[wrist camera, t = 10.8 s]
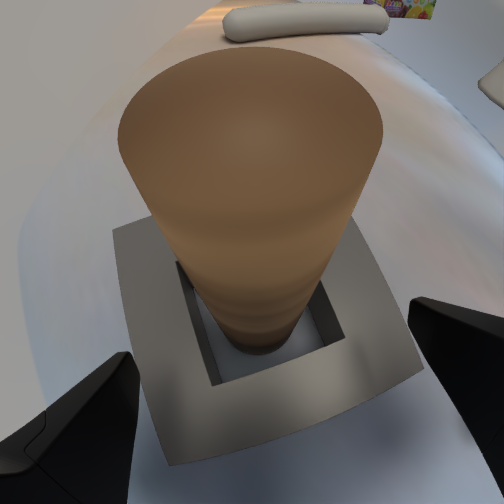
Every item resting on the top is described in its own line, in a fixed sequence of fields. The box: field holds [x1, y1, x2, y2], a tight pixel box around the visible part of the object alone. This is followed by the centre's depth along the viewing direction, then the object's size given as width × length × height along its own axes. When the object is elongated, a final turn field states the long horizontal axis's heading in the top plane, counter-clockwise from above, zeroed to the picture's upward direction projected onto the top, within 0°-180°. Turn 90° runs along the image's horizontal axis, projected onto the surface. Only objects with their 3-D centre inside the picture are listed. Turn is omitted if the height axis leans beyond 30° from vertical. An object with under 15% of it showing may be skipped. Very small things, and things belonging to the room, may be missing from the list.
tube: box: [222, 2, 390, 42], centre depth 31 cm, size 5×5×25 cm
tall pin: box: [118, 47, 383, 355], centre depth 10 cm, size 4×4×14 cm
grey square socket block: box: [112, 216, 424, 466], centre depth 15 cm, size 12×12×4 cm
